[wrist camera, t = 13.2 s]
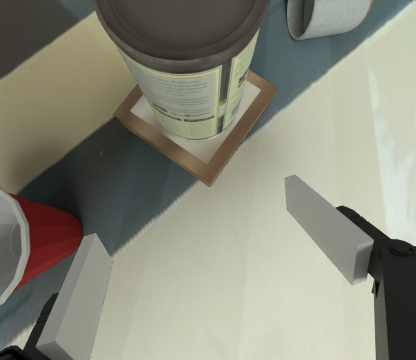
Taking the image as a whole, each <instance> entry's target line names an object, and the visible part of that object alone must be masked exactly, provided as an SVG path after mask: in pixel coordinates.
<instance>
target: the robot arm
mask: <svg viewBox="0 0 416 360" xmlns="http://www.w3.org/2000/svg"><path fill="white" fill-rule="evenodd" d="M285 189H286V205H287V210H288V211H289V213H290V214H291V215H292V216H293V217H294V218H295V220H296V221H297V222H298V223H299V224H300V225H301V227H302V228H303V229H304V230H305V231H306V232H307V234H308V235H309V236H310V237H311V238H312V239H313V241H314V242H315V243H316V244H317V245H318V246H319V248H320V249H321V250H322V251H323V252H324V253H325V254H326V256H327V257H328V258H329V259H330V260H331V261H332V263H333V264H334V265H335V266H336V267H337V268H338V270H339V271H340V272H341V273H342V274H343V275H344V277H345V278H346V279H347V280H348V281H349V282H350V284H351V285H355V284H358V283H361V282H364V281H366V280H367V275H368V273H369V274H370V275H371V276H372V277H373V278H374V283H373V288H372V293H374V313H375V344H376V360H416V246H413V245H411V244H409V243H407V242H405V241H402V240H398V239H390V238H389V237H388V236H386V235H385V234H384V233H382V232H381V231H380V230H379V229H377V228H376V227H375V226H373V225H372V224H371V223H369V222H368V221H366V220H365V219H364V218H363V217H362V216H360V215H359V214H358V213H356V212H355V211H354V210H352V209H350V208H348V207H345V206H339V207H336V208H335V207H333V206H332V205H331V204H330V203H329V202H327V201H326V200H325V199H324V198H323V197H321V196H320V195H319V194H318V193H317V192H315V191H314V190H313V189H312V188H311V187H309V186H308V185H307V184H306V183H305V182H303V181H302V180H301V179H300V178H299V177H297V176H296V175H293V176H289V177H286V178H285ZM112 264H113V261H112V259H111V257H110V256H109V254H108V252H107V251H106V249H105V248H104V246H103V244H102V243H101V241H100V239H99V238H98V236H97V234H96V233H94V234H90V235H87V236H84V238H83V240H82V242H81V244H80V247H79V249H78V251H77V254H76V256H75V258H74V260H73V263H72V265H71V267H70V269H69V272H68V274H67V276H66V279H65V281H64V283H63V285H62V288H61V290H60V292H58V293H55V294H53V295H52V296H51V297H50V299H49V300H48V301H47V302H46V303H45V305H44V307H43V309H42V311H41V313H40V316H39V318H38V320H37V322H36V325H35V326H34V328H33V330H32V332H31V334H30V336H29V339H28V341H27V343H26V345H25V347H24V349H23V350H22V349H20V348H19V347H18V346H9V347H7V348H5V349H3V350H2V351H0V360H90V357H91V353H92V349H93V344H94V340H95V336H96V332H97V328H98V323H99V319H100V315H101V311H102V306H103V302H104V298H105V294H106V290H107V285H108V281H109V277H110V273H111V268H112Z"/></svg>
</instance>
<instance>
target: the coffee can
mask: <svg viewBox="0 0 416 360" xmlns="http://www.w3.org/2000/svg"><path fill="white" fill-rule="evenodd" d="M269 3H270V0H93V4H94V8H95V11H96V14H97V16H98V19H99V21H100V22H101V24H102V26H103V28H104V29H105V31H106V32H107V34H108V35H109V37H110V38H111V39H112V40H113V41H114V43H115V44H116V46H117V48H118V50H119V51H120V53H121V55H122V57H123V58H124V60H125V62H126V64H127V66H128V67H129V69H130V71H131V73H132V74H133V76H134V78H135V80H136V81H137V83H138V85H139V87H140V89H141V91H142V92H143V94H144V96H145V97H146V99H147V101H148V103H149V104H150V106H151V108H152V110H153V111H154V113H155V116H156V118H157V120H158V122H159V123H160V125H161V126H162V127H163V128H164V130H165V131H167V132H168V133H169V134H171V135H172V136H174V137H176V138H178V139H180V140H184V141H188V142H203V141H208V140H212V139H214V138H216V137H218V136H220V135H221V134H223V133H224V132H225V131H227V130H228V129H229V128H230V126H231V125H232V124H233V122H234V121H235V119H236V117H237V114H238V111H239V107H240V101H241V97H242V94H243V90H244V86H245V82H246V78H247V75H248V71H249V67H250V63H251V60H252V56H253V52H254V49H255V44H256V41H257V37H258V33H259V29H260V26H261V24H262V22H263V20H264V18H265V15H266V12H267V9H268V7H269Z"/></svg>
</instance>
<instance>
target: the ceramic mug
mask: <svg viewBox="0 0 416 360" xmlns="http://www.w3.org/2000/svg"><path fill="white" fill-rule="evenodd" d="M372 3H373V0H288V6H287V22H288V29H289V32H290V35H291V36H292V38H293V39H295V40H304V39H309V38H316V37H322V36H327V35H335V34H341V33H344V32H347V31H350V30H352V29H354V28H356V27H357V26H358V25H359V24H360V23H361V22H362V21H363V20H364V18H365V17H366V16H367V14H368V12H369V10H370V8H371V6H372Z"/></svg>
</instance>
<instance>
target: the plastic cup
mask: <svg viewBox="0 0 416 360" xmlns="http://www.w3.org/2000/svg"><path fill="white" fill-rule="evenodd" d="M81 239H82V226H81V224H80V222H79V220H78V219H77V218H76V217H75V216H73V215H72V214H70V213H69V212H66V211H62V210H59V209H57V208H54V207H51V206H47V205H44V204H40V203H37V202H33V201H30V200H26V199H24V198H22V197H18V196H15V195H14V194H11V193H7V192H6V191H5V190H4V189H2V188H1V187H0V305H1V304H3V303H4V302H5V301H6V299H7V298H8V297H9V295H10V294H11V293H12V292H14V291H15V290H17V289H18V288H19V287H20V286H22V285H24V284H25V283H27V282H28V281H29V280H30V279H32V278H34V277H35V276H37V275H39V274H40V273H42V272H44V271H45V270H47V269H49V268H50V267H52V266H54V265H55V264H57V263H59V262H60V261H61V260H63V259H64V258H66V257H68V256H69V255H71V254H72V253H73V252H74V251H75V250H76V248H77V247H78V246H79V245H80V242H81Z"/></svg>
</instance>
